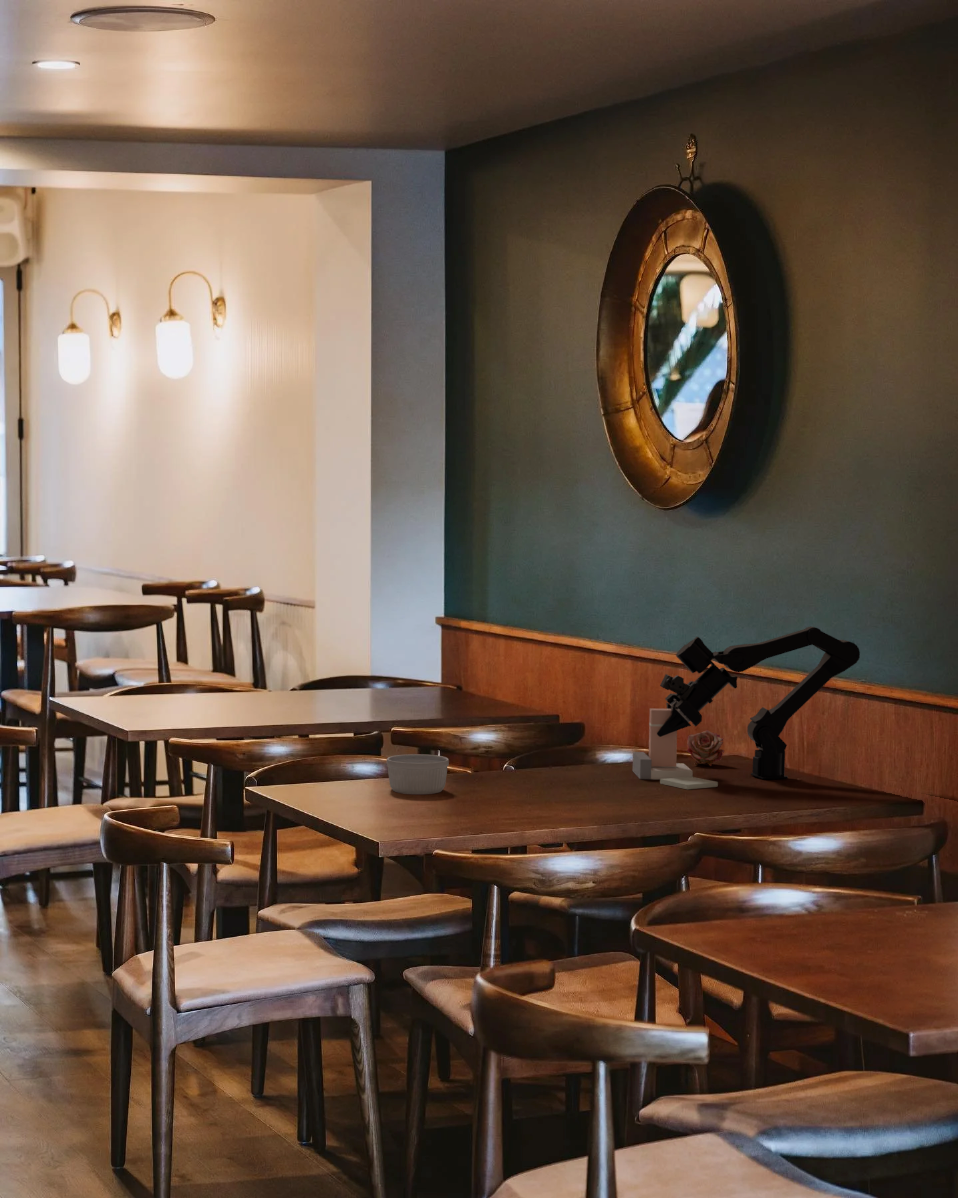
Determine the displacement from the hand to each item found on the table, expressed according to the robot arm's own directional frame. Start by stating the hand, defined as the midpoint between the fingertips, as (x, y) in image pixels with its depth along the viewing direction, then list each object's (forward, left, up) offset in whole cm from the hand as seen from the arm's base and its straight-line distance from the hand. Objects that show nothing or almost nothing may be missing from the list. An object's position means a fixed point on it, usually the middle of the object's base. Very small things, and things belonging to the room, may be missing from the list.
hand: (657, 734), depth 374 cm
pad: (-1, +14, -9) cm, 17 cm away
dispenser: (-1, 0, -9) cm, 10 cm away
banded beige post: (-1, 0, -7) cm, 7 cm away
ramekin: (+61, +10, -10) cm, 62 cm away
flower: (-19, -14, -10) cm, 26 cm away
